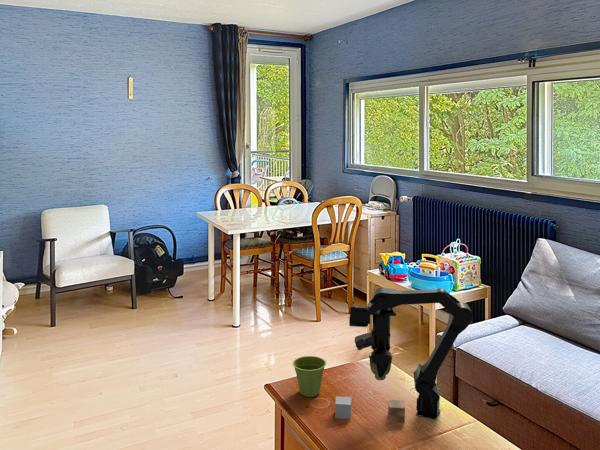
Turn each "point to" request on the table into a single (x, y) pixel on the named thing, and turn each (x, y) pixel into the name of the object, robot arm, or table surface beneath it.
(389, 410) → the walnut block
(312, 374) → the plant pot
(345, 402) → the slate grey block
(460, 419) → the table surface
